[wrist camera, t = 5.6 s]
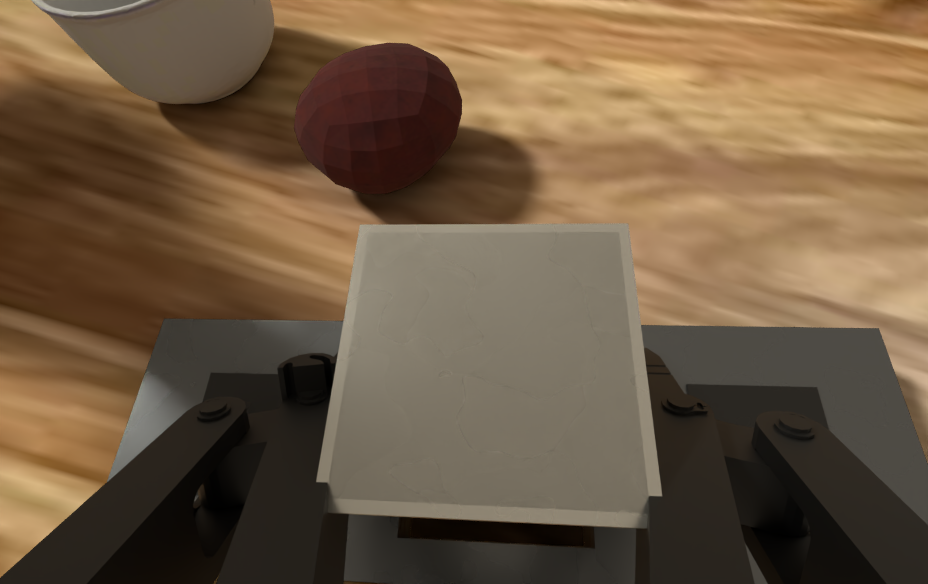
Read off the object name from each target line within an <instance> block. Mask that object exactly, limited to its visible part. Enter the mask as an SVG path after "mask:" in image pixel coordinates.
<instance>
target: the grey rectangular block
mask: <svg viewBox="0 0 928 584" xmlns="http://www.w3.org/2000/svg"><path fill="white" fill-rule="evenodd" d="M316 482H328V512H329V513H334V514H354V515H373V516H393V517H413V518H433V519H453V520H472V521H492V522H512V523H532V524H552V525H571V526H591V527H611V528H631V529H646V528H647V519H648V503H649V496H662V490H661V482H660V474H659V466H658V458H657V450H656V442H655V434H654V426H653V418H652V410H651V402H650V394H649V386H648V378H647V370H646V362H645V354H644V346H643V338H642V330H641V322H640V314H639V306H638V298H637V290H636V282H635V274H634V266H633V258H632V250H631V242H630V234H629V226H628V224H411V225H360V228H359V234H358V239H357V245H356V251H355V257H354V263H353V269H352V275H351V280H350V286H349V292H348V298H347V304H346V310H345V316H344V322H343V327H342V333H341V339H340V345H339V351H338V357H337V363H336V368H335V374H334V380H333V386H332V392H331V398H330V404H329V409H328V415H327V421H326V427H325V433H324V439H323V445H322V451H321V456H320V462H319V468H318V474H317V480H316Z"/></svg>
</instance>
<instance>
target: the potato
mask: <svg viewBox="0 0 928 584" xmlns="http://www.w3.org/2000/svg"><path fill="white" fill-rule="evenodd" d="M461 115H462V99H461V96H460V93H459V90H458V87H457V84H456V81H455V79H454V78H453V76H452V74H451V72H450V70H449V68H448V67H447V66H446V65H445V64H444V63H443V62H442V61H441V60H440V59H439V58H438V57H436V56H434V55H432V54H430V53H428V52H426V51H424V50H422V49H420V48H418V47H415V46H413V45H410V44H403V43H384V44H377V45H371V46H365V47H362V48H359V49H356V50H353V51H350V52H347V53H344V54H342V55H341V56H339V57H337V58H335V59H334V60H332V61H330V62H328V63H327V64H326V65H325V66H324V67H322V68H321V69H320V70H319V71H318V73H317V74H316V75H315V77H314V78H313V80H312V81H311V82H310V84H309V85H308V86H307V88H306V89H305V90H304V91H303V93H302V94H301V95H300V98H299V102H298V105H297V108H296V115H295V125H294V129H295V132H296V136H297V139H298V142H299V144H300V146H301V148H302V150H303V152H304V154H305V156H306V157H307V159H308V161H309V162H310V163H312V164H313V165H314V166H315V167H316V168H318V169H319V170H320V171H321V172H322V173H324V174H325V175H326V176H327V177H328V178H329V179H331V180H332V181H333V182H334V183H335V184H337V185H340V186H343V187H346V188H349V189H352V190H355V191H358V192H361V193H364V194H387V193H390V192H393V191H396V190H399V189H402V188H405V187H407V186H409V185H410V184H412V183H413V182H415V181H416V180H418V179H419V178H421V177H422V176H424V175H425V174H426V173H427V172H428V171H429V170H430V169H431V168H432V167H433V166H434V165H435V164H436V163H437V161H438V160H439V159H440V158H441V157H442V156H443V154H444V153H445V152H446V151H447V150H448V149H449V147H450V146H451V144H452V142H453V141H454V139H455V137H456V134H457V130H458V126H459V123H460V119H461Z"/></svg>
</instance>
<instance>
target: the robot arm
mask: <svg viewBox="0 0 928 584" xmlns="http://www.w3.org/2000/svg"><path fill="white" fill-rule="evenodd" d="M644 354H645V362H646V370H647V378H648V386H649V394H650V402H651V410H652V418H653V426H654V434H655V442H656V450H657V458H658V466H659V474H660V482H661V490H662V496H649V503H648V519H647V528H646V529H636V558H635V584H755V583H754V579H753V574H752V570H751V566H750V562H749V558H748V554H747V549H746V545H747V547H748V549H749V551H750V553H751V554H752V556H753V558H754V560H755V562H756V563H757V565H758V567H759V569H760V571H761V573H762V574H763V576H764V578H765V580H766V582H767V583H768V584H928V525H927V524H926V523H925V522H924V521H923V520H922V519H921V518H920V517H919V516H918V515H917V514H916V513H915V512H914V511H913V510H912V509H911V508H910V507H909V506H908V505H906V504H905V503H904V502H903V501H902V500H901V499H900V498H899V497H898V496H897V495H896V494H895V493H894V492H893V491H892V490H891V489H890V488H889V487H888V486H887V485H886V484H885V483H884V482H883V481H882V480H880V479H879V478H878V477H877V476H876V475H875V474H874V473H873V472H872V471H871V470H870V469H869V468H868V467H867V466H866V465H865V464H864V463H863V462H862V461H861V460H860V459H859V458H858V457H857V456H855V455H854V454H853V453H852V452H851V451H850V450H849V449H848V448H847V447H846V446H845V445H844V444H843V443H842V442H841V441H840V440H839V439H838V438H837V437H836V436H835V435H834V434H833V433H832V432H831V431H829V430H828V429H827V428H825V427H824V426H823V425H821V424H820V423H818V422H816V421H814V420H812V419H810V418H808V417H806V416H804V415H801V414H796V413H794V412H783V411H766V412H764V413H761V414H759V415H758V417H757V419H756V423H755V428H751V427H746V426H741V425H736V424H731V423H727V422H723V421H720V420H717V419H715V417H714V412H713V411H712V409H711V407H710V406H709V405H708V404H706V403H705V402H704V401H702V400H701V399H698V398H696V397H694V396H691V395H688V394H685V393H684V392H683V390H682V389H681V387H680V386H679V384H678V383H677V381H676V380H675V378H674V377H673V375H671V372H670V371H669V369H668V368H667V367H666V365H665V363H664V362H663V360H662V359H661V357H660V356H659V355H657V354H656V353H654V352H652V351H651V350H649V349H648V348H644ZM337 357H338V352H337V354H336V355H335V356H334V357H333V356H331V355H329V354H324V353H308V354H302V355H298V356H295V357H292V358H289V359H288V360H286V361H284V362H282V363H281V364H280V365H279V367H278V368H277V371H278V377H279V383H280V390H281V396H282V402H281V405H280V408H279V409H275V410H270V411H263V412H257V413H250V414H247V409H246V404H245V401H243V400H242V399H240V398H236V397H216V398H214V399H212V398H211V399H208V400H205V401H204V402H202V403H200V404H197V405H195V406H193V407H192V408H190V409H189V410H188V411H186V412H185V413H184V414H183V415H182V416H181V417H179V418H178V419H177V420H176V421H175V422H174V423H173V424H172V425H170V426H169V427H168V428H167V429H166V430H165V431H164V432H163V433H162V434H160V435H159V436H158V437H157V438H156V439H155V440H154V441H153V442H151V443H150V444H149V445H148V446H147V447H146V448H145V449H144V450H143V451H141V452H140V453H139V454H138V455H137V456H136V457H135V458H134V459H132V460H131V461H130V462H129V463H128V464H127V465H126V466H125V467H124V468H122V469H121V470H120V471H119V472H118V473H117V474H116V475H115V476H113V477H112V478H111V479H110V480H109V481H108V482H107V483H106V484H105V485H103V486H102V487H101V488H100V489H99V490H98V491H97V492H96V493H94V494H93V495H92V496H91V497H90V498H89V499H88V500H87V501H86V502H84V503H83V504H82V505H81V506H80V507H79V508H78V509H77V510H76V511H74V512H73V513H72V514H71V515H70V516H69V517H68V518H67V519H65V520H64V521H63V522H62V523H61V524H60V525H59V526H58V527H57V528H55V529H54V530H53V531H52V532H51V533H50V534H49V535H48V536H46V537H45V538H44V539H43V540H42V541H41V542H40V543H39V544H38V545H36V546H35V547H34V548H33V549H32V550H31V551H30V552H29V553H27V554H26V555H25V556H24V557H23V558H22V559H21V560H20V561H19V562H17V563H16V564H15V565H14V566H13V567H12V568H11V569H10V570H8V571H7V572H6V573H5V574H4V575H3V576H2V577H1V578H0V584H213V583H214V581H215V580H216V578H217V577H218V575H219V573H220V575H219V577H218V580H217V583H216V584H344V571H345V558H346V545H347V532H348V519H349V514H334V513H329V512H328V482H316V480H317V474H318V468H319V462H320V456H321V451H322V445H323V439H324V433H325V427H326V421H327V415H328V409H329V404H330V398H331V392H332V386H333V380H334V374H335V368H336V363H337ZM197 491H198V495H199V497H198V498H197V499H196V500H195V496H196V493H197ZM194 500H195V501H194ZM745 544H746V545H745Z"/></svg>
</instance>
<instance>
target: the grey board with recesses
mask: <svg viewBox="0 0 928 584" xmlns="http://www.w3.org/2000/svg"><path fill="white" fill-rule="evenodd" d="M343 322H344V321H300V320H227V319H164V321H163V324H162V326H161V329H160V332H159V335H158V338H157V341H156V343H155V346H154V349H153V352H152V355H151V358H150V361H149V363H148V366H147V369H146V372H145V375H144V378H143V381H142V383H141V386H140V389H139V392H138V395H137V398H136V401H135V403H134V406H133V409H132V412H131V415H130V418H129V421H128V423H127V426H126V429H125V432H124V435H123V438H122V441H121V443H120V446H119V449H118V452H117V455H116V458H115V460H114V463H113V466H112V469H111V472H110V475H109V478H108V480H107V482H108V481H109V480H110V479H111V478H112V477H113V476H115V475H116V474H117V473H118V472H119V471H120V470H121V469H122V468H124V467H125V466H126V465H127V464H128V463H129V462H130V461H131V460H132V459H134V458H135V457H136V456H137V455H138V454H139V453H140V452H141V451H143V450H144V449H145V448H146V447H147V446H148V445H149V444H150V443H151V442H153V441H154V440H155V439H156V438H157V437H158V436H159V435H160V434H162V433H163V432H164V431H165V430H166V429H167V428H168V427H169V426H170V425H172V424H173V423H174V422H175V421H176V420H177V419H178V418H179V417H181V416H182V415H183V414H184V413H185V412H186V411H188V410H189V409H190V408H192V407H193V406H195V405H197V404H200V403H202V402H204V401H205V400H208V399H211V398H212V399H214V398H216V397H236V398H240V399H242V400H243V401H245V404H246V409H247V414H250V413H257V412H263V411H270V410H275V409H279V408H280V405H281V402H282V396H281V390H280V383H279V377H278V371H277V368H278V367H279V365H280V364H281V363H282V362H284V361H286V360H288V359H289V358H292V357H295V356H298V355H302V354H308V353H324V354H329V355H331V356H333V357H334V356H335V355H336V354H337V352H338V351H339V345H340V339H341V333H342V327H343ZM641 330H642V338H643V346H644V348H648V349H649V350H651V351H652V352H654V353H656V354H657V355H659V356H660V357H661V359H662V360H663V362H664V363H665V365H666V367H667V368H668V369H669V371H670V372H671V375H673V377H674V378H675V380H676V381H677V383H678V384H679V386H680V387H681V389H682V390H683V392H684V393H685V394H688V395H691V396H694V397H696V398H698V399H701V400H702V401H704V402H705V403H706V404H708V405H709V406H710V407H711V409H712V411H713V412H714V417H715V419H717V420H720V421H723V422H727V423H731V424H736V425H741V426H746V427H751V428H755V423H756V419H757V417H758V415H759V414H761V413H764V412H766V411H783V412H794V413H796V414H801V415H804V416H806V417H808V418H810V419H812V420H814V421H816V422H818V423H820V424H821V425H823V426H824V427H825V428H827V429H828V430H829V431H831V432H832V433H833V434H834V435H835V436H836V437H837V438H838V439H839V440H840V441H841V442H842V443H843V444H844V445H845V446H846V447H847V448H848V449H849V450H850V451H851V452H852V453H853V454H854V455H855V456H857V457H858V458H859V459H860V460H861V461H862V462H863V463H864V464H865V465H866V466H867V467H868V468H869V469H870V470H871V471H872V472H873V473H874V474H875V475H876V476H877V477H878V478H879V479H880V480H882V481H883V482H884V483H885V484H886V485H887V486H888V487H889V488H890V489H891V490H892V491H893V492H894V493H895V494H896V495H897V496H898V497H899V498H900V499H901V500H902V501H903V502H904V503H905V504H906V505H908V506H909V507H910V508H911V509H912V510H913V511H914V512H915V513H916V514H917V515H918V516H919V517H920V518H921V519H922V520H923V521H924V522H925V523H926V524H927V525H928V464H927V461H926V458H925V455H924V453H923V450H922V447H921V444H920V441H919V439H918V436H917V433H916V430H915V428H914V425H913V422H912V419H911V416H910V414H909V411H908V408H907V405H906V403H905V400H904V397H903V394H902V392H901V389H900V386H899V383H898V380H897V378H896V375H895V372H894V369H893V367H892V364H891V361H890V358H889V355H888V353H887V350H886V347H885V344H884V342H883V339H882V336H881V333H880V331H879V328H808V327H736V326H663V325H641ZM198 497H199V495H198V491H197V493H196V496H195V500H196V499H197V498H198ZM195 500H194V501H195ZM411 525H412V517H393V516H373V515H354V514H349V519H348V532H347V545H346V558H345V571H344V581H356V582H372V583H388V584H635V558H636V529H631V528H611V527H591V526H583V541H584V546H566V545H547V544H529V543H510V542H492V541H473V540H455V539H436V538H418V537H411ZM745 545H746V544H745ZM746 549H747V554H748V558H749V562H750V566H751V570H752V574H753V579H754V583H755V584H768V583H767V582H766V580H765V578H764V576H763V574H762V573H761V571H760V569H759V567H758V565H757V563H756V562H755V560H754V558H753V556H752V554H751V553H750V551H749V549H748V547H747V545H746Z"/></svg>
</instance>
